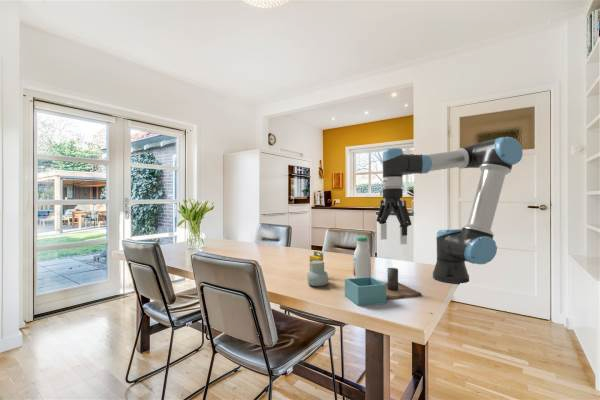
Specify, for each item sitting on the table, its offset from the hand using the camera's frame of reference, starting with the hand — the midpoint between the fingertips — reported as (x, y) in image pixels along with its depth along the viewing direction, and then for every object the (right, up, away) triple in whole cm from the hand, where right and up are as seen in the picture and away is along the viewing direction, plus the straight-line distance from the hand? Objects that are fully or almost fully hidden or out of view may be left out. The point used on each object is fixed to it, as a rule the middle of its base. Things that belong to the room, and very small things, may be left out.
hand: (392, 241), depth 119 cm
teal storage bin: (-13, -20, -9) cm, 26 cm away
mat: (0, -20, 0) cm, 20 cm away
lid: (0, -20, 0) cm, 20 cm away
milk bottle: (-9, -20, +16) cm, 28 cm away
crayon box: (-29, -20, +25) cm, 43 cm away
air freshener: (-29, -21, +12) cm, 38 cm away
